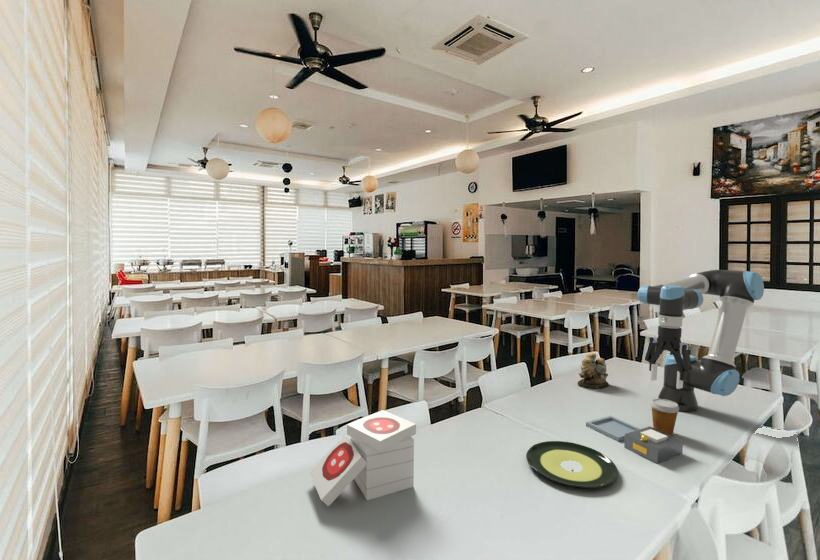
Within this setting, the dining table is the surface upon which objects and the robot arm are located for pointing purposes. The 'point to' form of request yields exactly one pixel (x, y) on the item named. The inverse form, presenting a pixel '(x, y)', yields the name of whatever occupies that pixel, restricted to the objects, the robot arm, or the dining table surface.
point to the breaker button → (654, 436)
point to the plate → (552, 453)
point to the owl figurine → (593, 372)
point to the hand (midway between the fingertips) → (666, 383)
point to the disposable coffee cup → (664, 415)
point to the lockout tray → (612, 427)
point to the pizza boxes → (369, 458)
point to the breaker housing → (653, 446)
